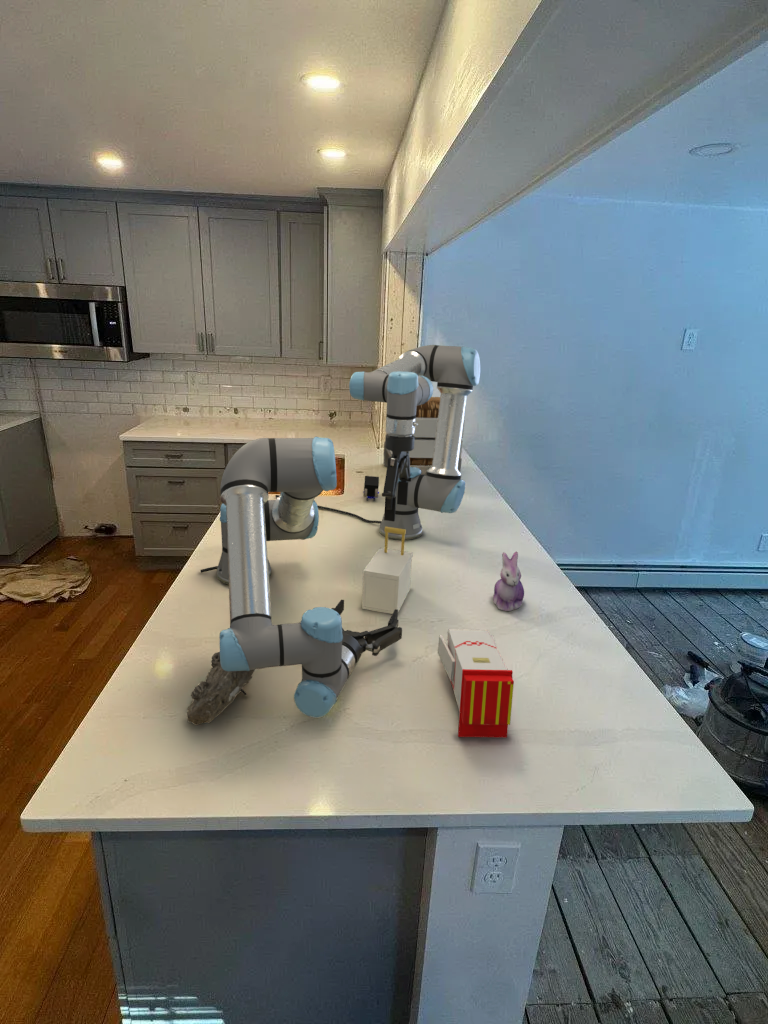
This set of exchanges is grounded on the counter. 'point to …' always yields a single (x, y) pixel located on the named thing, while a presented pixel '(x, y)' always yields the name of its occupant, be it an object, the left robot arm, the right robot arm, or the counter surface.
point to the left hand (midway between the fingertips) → (369, 609)
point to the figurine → (509, 585)
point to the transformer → (424, 435)
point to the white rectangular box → (389, 559)
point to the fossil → (216, 692)
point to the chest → (385, 592)
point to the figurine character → (371, 487)
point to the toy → (478, 682)
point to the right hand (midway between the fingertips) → (396, 512)
